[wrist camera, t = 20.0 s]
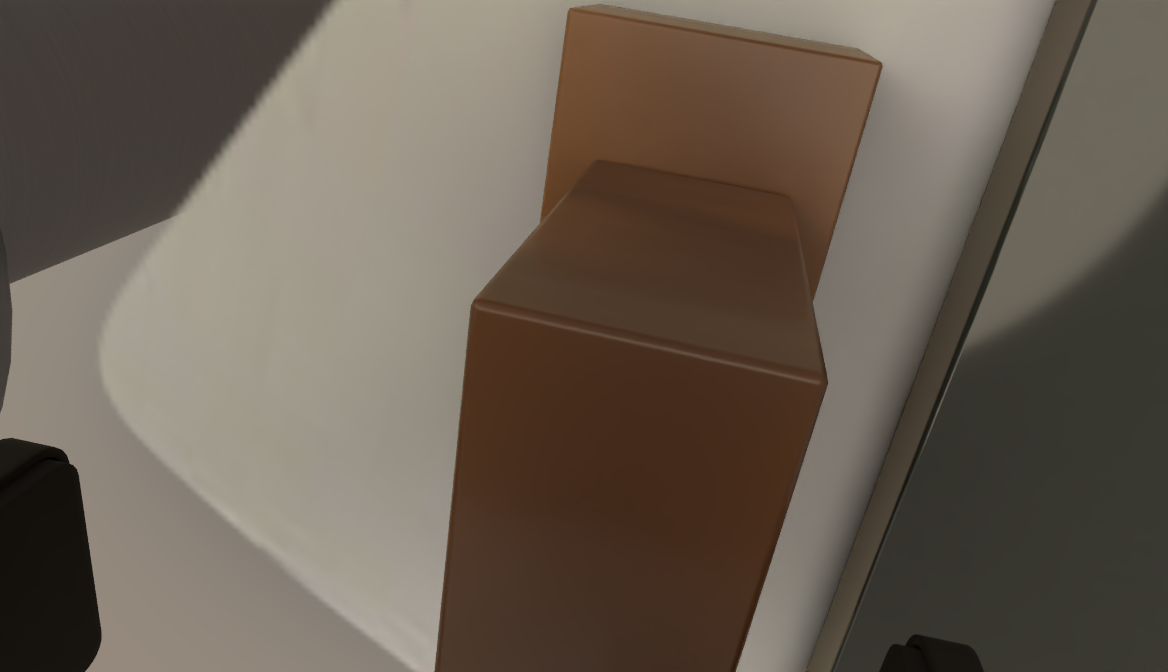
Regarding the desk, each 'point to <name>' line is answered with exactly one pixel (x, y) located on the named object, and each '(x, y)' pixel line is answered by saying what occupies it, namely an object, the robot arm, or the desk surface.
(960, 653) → the robot arm
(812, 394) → the brown stepped wooden block
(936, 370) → the slate board
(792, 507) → the desk surface
